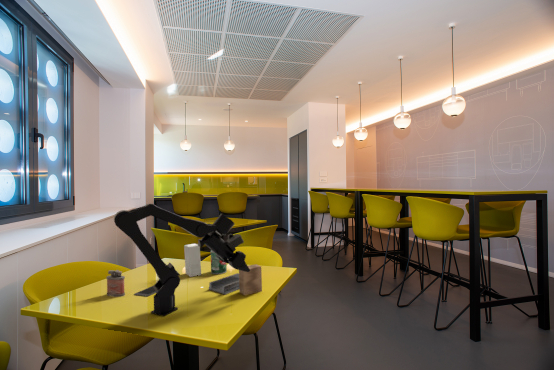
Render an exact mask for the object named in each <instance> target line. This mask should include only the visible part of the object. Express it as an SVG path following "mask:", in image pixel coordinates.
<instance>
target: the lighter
mask: <svg viewBox="0 0 554 370" xmlns="http://www.w3.org/2000/svg"><path fill="white" fill-rule="evenodd" d="M122 272H123V271H120V270H119V269H116V270H113V269H112V270H111V269H110V270H108V271H107V273H108V275H107V276H106V296H108V297H115V298H117V297H124V296H125V295H126V292H125V275H122Z"/></svg>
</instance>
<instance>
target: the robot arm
mask: <svg viewBox="0 0 554 370" xmlns="http://www.w3.org/2000/svg"><path fill="white" fill-rule="evenodd" d="M148 217H154V218H157V219H159V220H162V221H164V222H166V223H169V224H172V225H175V226H177V227H180V228H181V229H183V230H184V231H186V232H187V233H189V234H191V235H192V236H194V237H197V238H199V239H197V241H198V242H197V245H198V246H199V247H200V249H201V248H203V247H204V246H206V247H207V248H209V249H210V251H211V250H212V252H214V253H215V254H216V257H217V258H218V259H219V260H221V261H222V262H225V263H226V264H227V265H229V266H230V267H232V268H233V269H235V270H238V271H239V270H242V271H245V272H249V271H250V269H249V267H248V266H249V265H248V264H247V263H246V261H245V260H246V257H247V255H246V254H245V253H244V252H243V251H240V250H237V247H238V246H240V245H241V244H244V242H245V241H244V239H243V238H242V237H243V236H242V235H241V234H232V233H229V231H231V230H232V228H233V227H234V226H235V222H234V221H233V219H231V218H229V217H228V216H226V215H224V213H220V214H219V215H218V217H217V218H216V220H215V221H213V223H206V222H204V221H200V220H198V219H197V220H196V219H192V218H188V217H184V216H181V215H179V214H176V213H174V212H171V211H169V210H166V209H164V208H162V207H159V206H157V205H155V204H153V203H146V204H145V205H143V206H139V207H137V208H133V209H130V210H125V209H124V210H123V209H122V210H119V211H118V212H116V213H115V214H114V216H113V222H114V225H115V226H116V227H117V228H118V229H120V231H122V232H123V233H124V234H125V235H126V236H127V237H128V238H130V239H131V241H132V242H133V243H134V244H135V246H136V248H138V249H139V250H140V253H141V254H142V255H143V256H144V257H145V259H146V260H147V261H148V263H149V264H150V265H151V266H152V268H153V269H154V272H155V273H156V276H157V277H158V278H157V279H158V280H157V281H156V282H155V283H154V284H153V285H152V286H153V287H154V290H155V292H156V293H155V294H153V310H151V311H150V313H151V314H153V315H157V316H161V317H165V316H167V315H169V314H171V313H173V312H174V311H177V310H178V309H179V307H177V306H176V295H175V292H176V289H177V288H178V287H179V285H180V283H181V278H180V276H181V274H180V273H179V271H178V270H176V268H175V266H174V265H173V263H171V262H168V264H167V263H165V262H164V261H163V260H162V258H161V256H160V255H159V254H158V253H157V251H156V250H155V249H154V247H153V246H152V244H151V242H149V241H148V239H147V238H146V236H144V234H143V233H142V230H141V228H140V226H139V224H138V222H139V221H142V220H143V219H146V218H148ZM228 233H229V234H228ZM227 234H228V235H227ZM226 235H227V239H226V240H224V239H223V238H222V236H226ZM200 238H201V239H200Z"/></svg>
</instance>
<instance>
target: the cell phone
mask: <svg viewBox="0 0 554 370" xmlns="http://www.w3.org/2000/svg"><path fill="white" fill-rule="evenodd" d="M153 286H154V285H151V286H149V287H147V288H144V289H142V290H140V291H138V292H135V293H134V294H133V295H134V296H139V297H144V298H147V297H150V296H152V295H153V296H154V295H155V294H156V292H155V290H154V287H153Z"/></svg>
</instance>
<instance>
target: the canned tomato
mask: <svg viewBox="0 0 554 370" xmlns="http://www.w3.org/2000/svg"><path fill="white" fill-rule="evenodd" d="M227 265H228V263H225V262H222V261H221V260H219V259H218V258H217V257H216V254H215V253H214V252H212V250H211V249H210V274H212V275H221V274H222V275H223V274H225V273H227V272H228V271H227V267H228V266H227Z"/></svg>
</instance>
